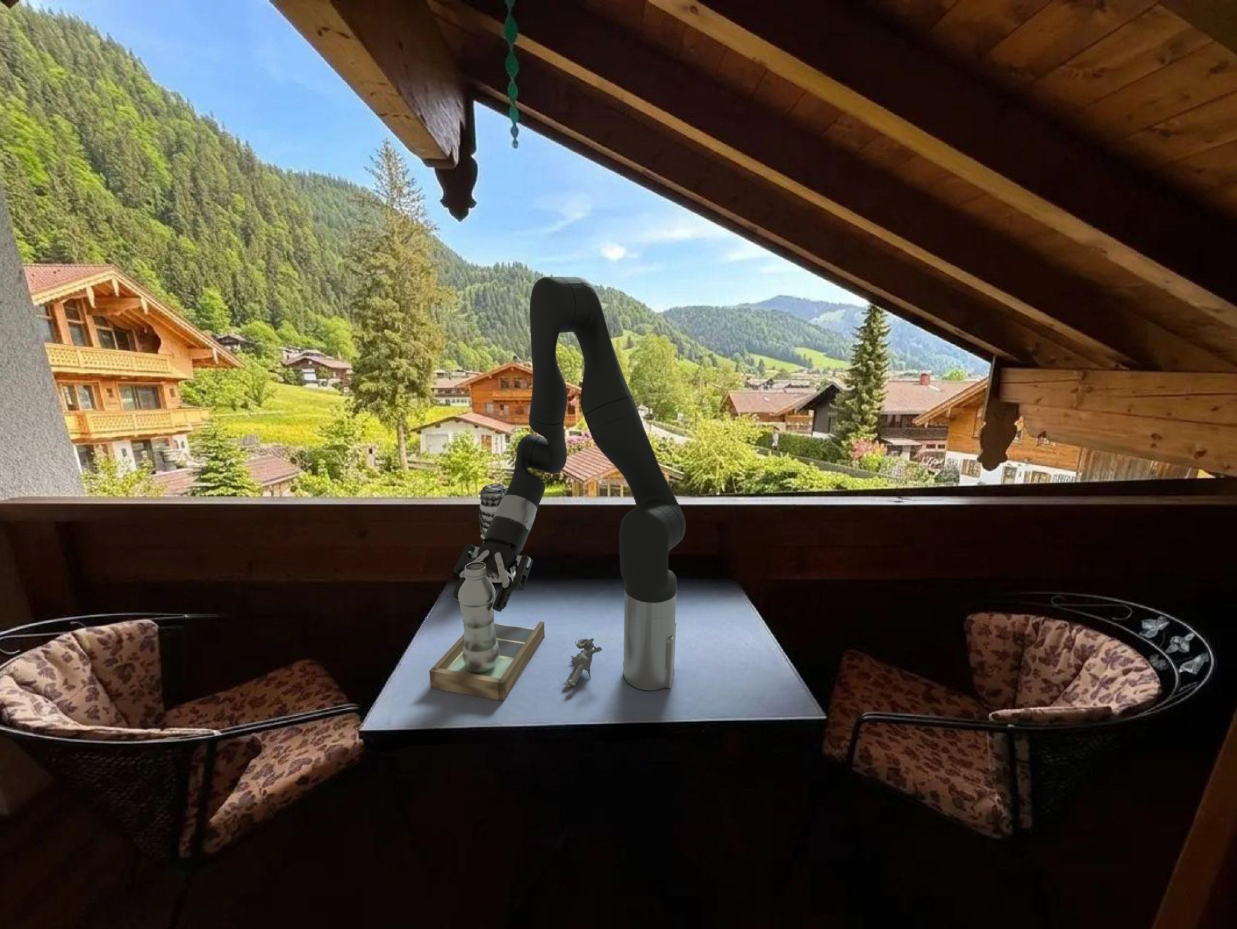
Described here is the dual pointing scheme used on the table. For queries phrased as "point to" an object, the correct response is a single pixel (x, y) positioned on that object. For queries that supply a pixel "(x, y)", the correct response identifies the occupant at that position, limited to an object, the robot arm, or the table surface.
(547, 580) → the table surface
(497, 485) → the decorative candle
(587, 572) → the table surface
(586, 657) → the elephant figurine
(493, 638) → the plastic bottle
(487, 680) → the box
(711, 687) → the table surface
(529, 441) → the robot arm
